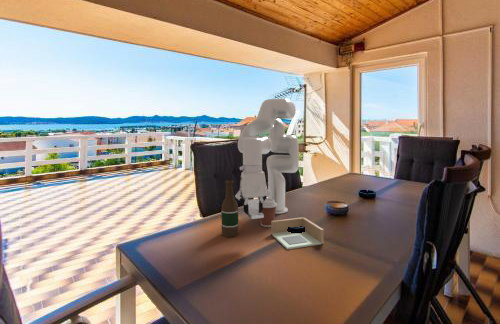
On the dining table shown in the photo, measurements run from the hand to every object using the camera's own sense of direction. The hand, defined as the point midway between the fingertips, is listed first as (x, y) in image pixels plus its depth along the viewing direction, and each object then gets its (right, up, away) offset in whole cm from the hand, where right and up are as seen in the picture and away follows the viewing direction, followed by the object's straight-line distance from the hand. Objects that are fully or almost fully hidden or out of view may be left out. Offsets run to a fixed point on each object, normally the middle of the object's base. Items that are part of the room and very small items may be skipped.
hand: (253, 212), depth 109 cm
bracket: (+1, -1, -2) cm, 3 cm away
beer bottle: (-10, -12, +9) cm, 18 cm away
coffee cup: (+7, -10, +21) cm, 24 cm away
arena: (+18, -12, +3) cm, 22 cm away
